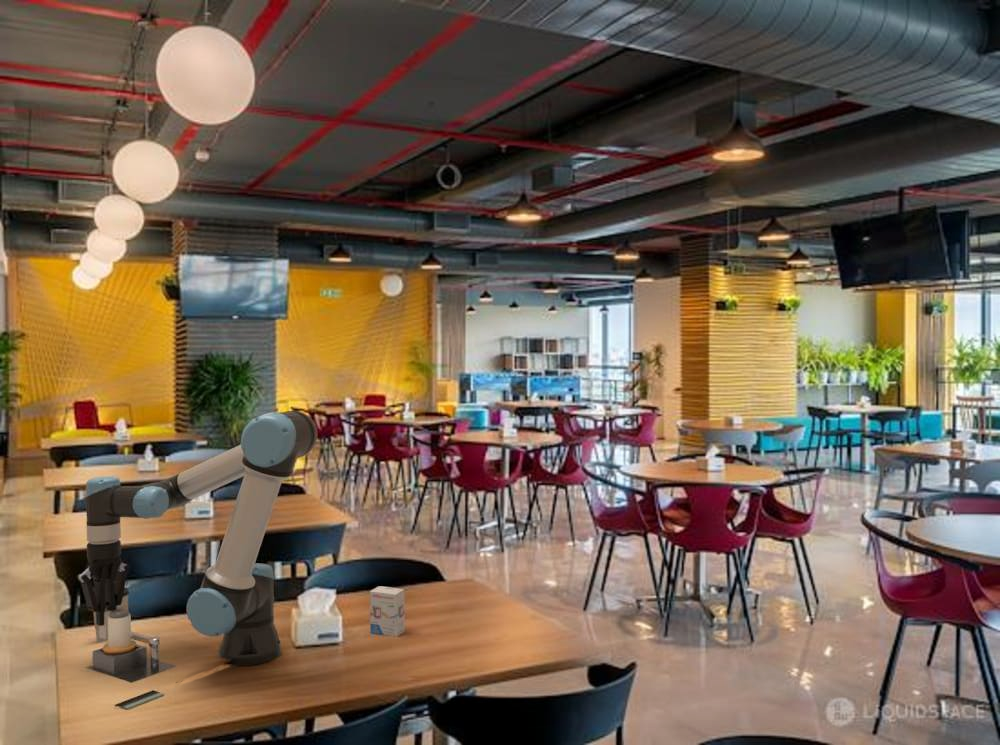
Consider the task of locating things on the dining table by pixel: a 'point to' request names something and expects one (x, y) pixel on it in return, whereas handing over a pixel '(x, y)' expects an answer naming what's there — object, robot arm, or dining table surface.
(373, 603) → the ink box
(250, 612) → the robot arm
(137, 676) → the grey open box fixture
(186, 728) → the dining table surface
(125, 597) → the coffee cup
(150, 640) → the grey metal lever
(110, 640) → the plug
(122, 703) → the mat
